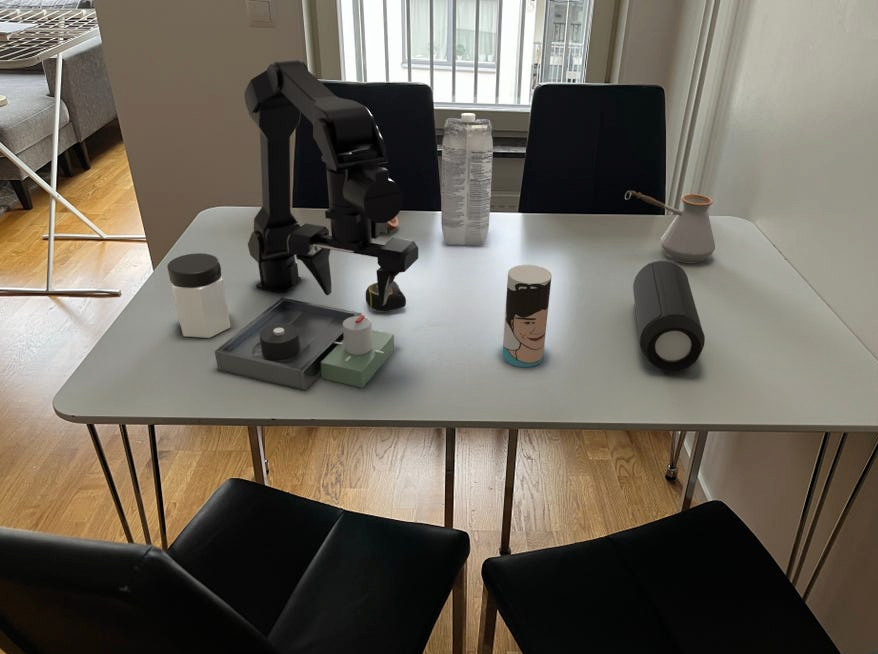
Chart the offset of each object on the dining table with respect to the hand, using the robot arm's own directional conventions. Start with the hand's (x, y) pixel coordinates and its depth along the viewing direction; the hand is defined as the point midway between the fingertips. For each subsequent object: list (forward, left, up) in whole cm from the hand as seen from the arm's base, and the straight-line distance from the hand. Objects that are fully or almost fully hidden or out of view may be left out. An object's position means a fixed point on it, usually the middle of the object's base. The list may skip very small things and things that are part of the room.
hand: (355, 299), depth 107 cm
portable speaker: (+45, +27, -12) cm, 54 cm away
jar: (-30, +1, -12) cm, 32 cm away
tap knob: (0, 0, -9) cm, 9 cm away
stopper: (-12, -3, -11) cm, 17 cm away
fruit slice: (-20, +53, -12) cm, 58 cm away
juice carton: (-1, +55, -12) cm, 56 cm away
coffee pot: (+42, +63, -12) cm, 77 cm away
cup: (+24, +12, -12) cm, 29 cm away
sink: (-12, 0, -12) cm, 17 cm away
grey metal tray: (-12, 0, -12) cm, 17 cm away
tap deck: (0, 0, -12) cm, 12 cm away
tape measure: (-4, +20, -12) cm, 24 cm away
